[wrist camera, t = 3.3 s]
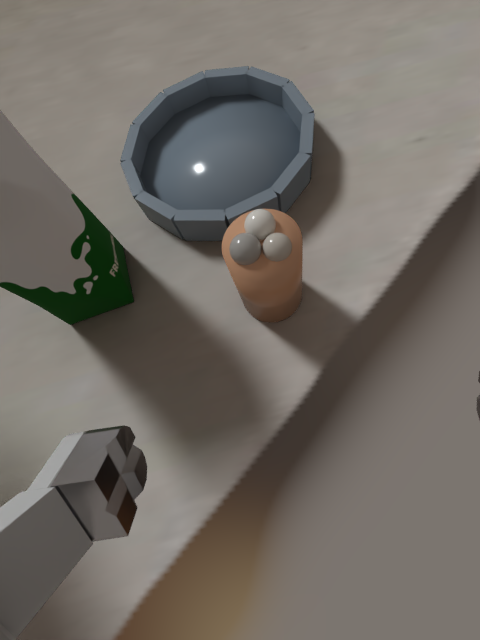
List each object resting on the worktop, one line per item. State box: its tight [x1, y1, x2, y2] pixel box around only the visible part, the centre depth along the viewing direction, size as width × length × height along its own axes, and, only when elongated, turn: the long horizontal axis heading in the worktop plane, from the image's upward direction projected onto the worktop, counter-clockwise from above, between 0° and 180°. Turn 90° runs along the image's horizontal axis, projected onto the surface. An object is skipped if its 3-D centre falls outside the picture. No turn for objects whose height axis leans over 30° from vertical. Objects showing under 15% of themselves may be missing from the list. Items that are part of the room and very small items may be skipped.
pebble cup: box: [222, 209, 302, 322], centre depth 27 cm, size 6×6×10 cm
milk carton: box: [0, 110, 134, 325], centre depth 26 cm, size 9×9×20 cm
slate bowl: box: [120, 66, 314, 241], centre depth 36 cm, size 20×20×4 cm
